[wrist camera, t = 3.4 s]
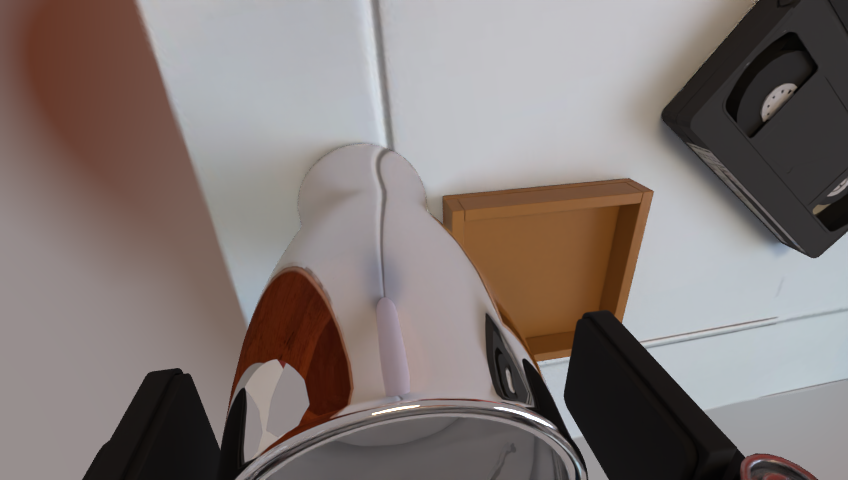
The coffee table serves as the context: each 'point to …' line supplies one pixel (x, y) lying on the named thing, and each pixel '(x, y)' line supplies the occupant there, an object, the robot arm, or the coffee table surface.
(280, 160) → the coffee table surface
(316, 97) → the coffee table surface
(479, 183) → the coffee table surface
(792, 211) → the vhs tape
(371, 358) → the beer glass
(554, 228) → the amber tray
